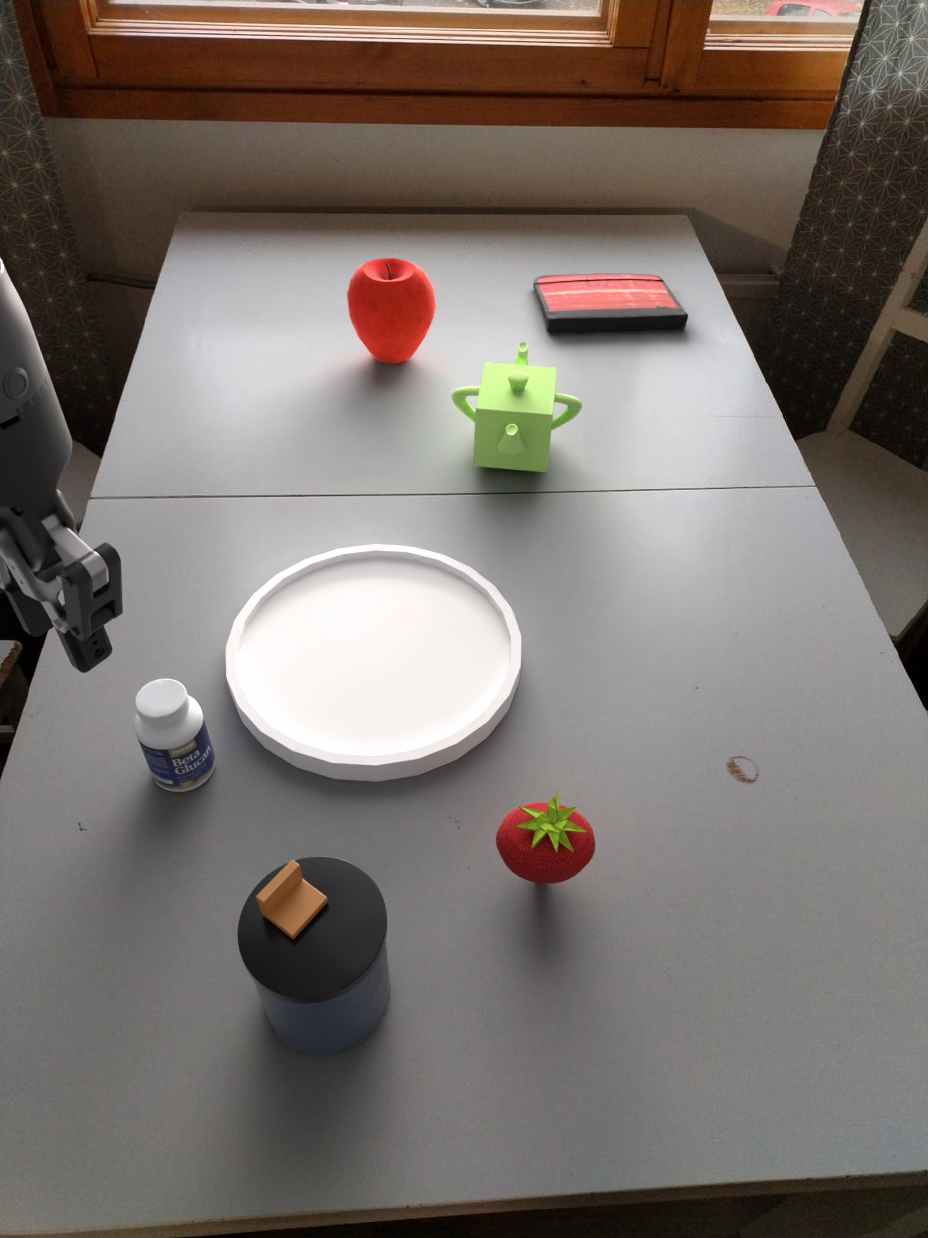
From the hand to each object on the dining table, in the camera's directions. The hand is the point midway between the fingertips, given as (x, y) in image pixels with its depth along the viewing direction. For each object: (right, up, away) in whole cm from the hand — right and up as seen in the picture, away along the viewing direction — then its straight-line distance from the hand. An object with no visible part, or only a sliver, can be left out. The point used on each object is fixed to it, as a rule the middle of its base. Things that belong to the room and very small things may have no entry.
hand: (70, 642), depth 51 cm
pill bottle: (-2, -12, +27) cm, 29 cm away
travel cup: (+13, -25, +14) cm, 32 cm away
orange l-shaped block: (+12, -17, +6) cm, 22 cm away
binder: (+44, +49, +86) cm, 109 cm away
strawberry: (+28, -19, +20) cm, 40 cm away
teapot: (+28, +22, +60) cm, 70 cm away
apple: (+13, +38, +75) cm, 85 cm away
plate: (+14, -3, +36) cm, 38 cm away
